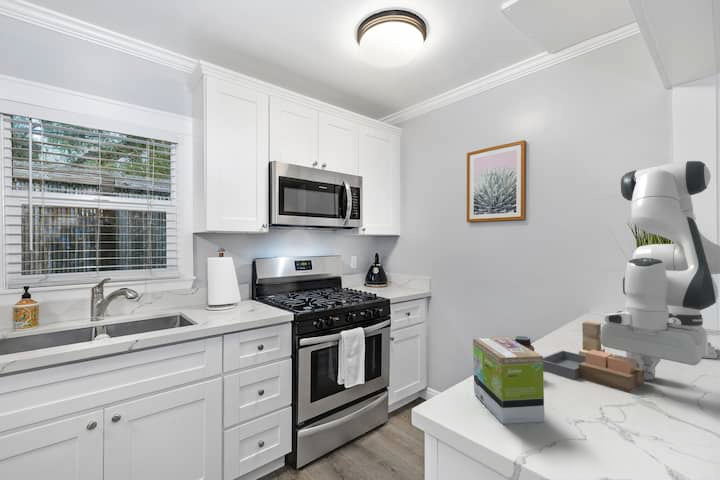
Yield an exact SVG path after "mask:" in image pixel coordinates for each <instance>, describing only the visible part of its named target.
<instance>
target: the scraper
mask: <svg viewBox="0 0 720 480" xmlns="http://www.w3.org/2000/svg"><path fill="white" fill-rule="evenodd" d="M601 329H602V323H600V322H599V323H598V322H593V321H592V322H591V321H584V322H582V349H580V350H578V354H580V355H584V356H586V352H588V351H591V350H597V351H601V352H606V349H605V347H602V344H601V341H600V337H601Z"/></svg>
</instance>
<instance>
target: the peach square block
mask: <svg viewBox="0 0 720 480" xmlns="http://www.w3.org/2000/svg"><path fill="white" fill-rule="evenodd" d="M612 355H613V353H609V352H606V351H605V352H601V351H597V350H591V351H588V352H586V363H588V364H592V365H596V366H600V367H604V368H607V367H608V357H610V356H612Z"/></svg>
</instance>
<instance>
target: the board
mask: <svg viewBox="0 0 720 480" xmlns="http://www.w3.org/2000/svg"><path fill="white" fill-rule="evenodd" d="M578 366H579V378H578V379H580V380H582V381H583V380H584V381H587V382H592V383H595V384H597V385H600V386H605V387H607V388H611V389H615V390H619V391H622V392H625V393H628V394H630V393H632V392H633V391H634V390H636V389H638V388H639V387H640V386H642V385H643V384H644V383H645V380H644V372H642V371H640V370H639V367H636V371H634V372H632V373H631V374H628V373H624V372H620V371H616V370H612V369H608V367H607V368H604V367H600V366H596V365H592V364H588V363H586V361H585V362H582V363H580V364H578Z"/></svg>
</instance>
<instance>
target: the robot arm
mask: <svg viewBox="0 0 720 480" xmlns="http://www.w3.org/2000/svg"><path fill="white" fill-rule="evenodd" d="M711 177H712V176H711V171H710V169H709V168H708V166H707V165H706V164H705V163H704V162H703V161H700V160H699V161H698V160H687V161H686V162H673V163H666V164H660V165H657V166H651V167H648V168H642V169H639V170H632V171H628V172H627V173H625V174H624V175H622V176H621V179H620V183H619V190H620V191H619V192H620V193H621V196H622V197H623V199H625V200H627V201H629V202H630V201H631V202H630V203H631V205H630V206H631V207H630V215H631V221H632V223H634V225H635V226H636V227H637V228H639V229H640V230H642V231H644V232H646V233H648V234H651V235H654V236H660V237H661V238H664V239H667V240H670V241H672V242H673V243H652V244H646V245H640V246H638V247H637V248H636V249H635V250H634V252H632V253H633V254H632V259H631V260H628V261H627V263H626V267H625V272H624V276H623V278H622V293H623V294H624V296H626V302H625V304H624V310H620V311H619V310H618V311H615V312H609V313H606V314H605V315H604V316H603V319H604V323H603V324H602V325H601V337H600V341H601V346H603V348H608V349H612V350H617V351H622V352H625V353H626V352H631V353H634V358H635V360H636V361H637V363H638V364H639V370H640V371H642V372H647V373H651V374H655V375H656V367H657V366H658V365H659V363H660V362H661V361H662V360H665V361H670V362H676V363H680V364H684V365H689V366H697V365H698V364H700V363H701V362H702V359H703V358H704V359H705V358H706V359H718V354H717V350H716V347H714V346H712V343H711V342H709V340H708V339H709V338H708V332H707V331H706V330H705V328H704V327H703V324H704V322H703V321H704V319H703V315H702V313H701V311H703V310H706V309H707V308H710V307H711V306H713V305H715V304H716V303H717V301H718V296H719V290H718V286H717V283H716V281H715V279H714V277H713V275H717V274H718V275H720V245H719V244H717V243H715V242H712V241H710V239H708V238H707V237H705V236H704V235H703V234H702V232H700V230H699V228H698V225H697V223H696V220H695V215H694V207H693V202H692V200H693V199H692V197H691V196H693V195H697V194H701V193H703V192H704V191H705V190H707V189H708V186H709V184H710V182H711ZM643 355H645V356H650V357H651V361H654V363H653V364H652V365H647V364H644V362H643V361H642V359H641V357H643Z"/></svg>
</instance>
